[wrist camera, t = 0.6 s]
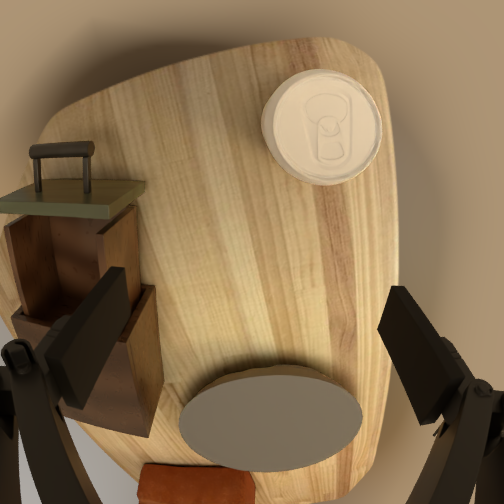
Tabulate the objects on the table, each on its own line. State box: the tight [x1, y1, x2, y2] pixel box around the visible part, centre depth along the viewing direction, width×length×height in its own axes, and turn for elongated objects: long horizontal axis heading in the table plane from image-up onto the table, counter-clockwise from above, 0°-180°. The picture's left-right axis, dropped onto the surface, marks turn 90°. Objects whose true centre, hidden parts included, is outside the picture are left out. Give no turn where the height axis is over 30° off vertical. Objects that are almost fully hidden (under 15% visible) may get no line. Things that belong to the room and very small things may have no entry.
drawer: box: [0, 141, 145, 336], centre depth 29 cm, size 20×14×9 cm
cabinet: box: [11, 284, 164, 438], centre depth 35 cm, size 17×15×11 cm
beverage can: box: [261, 69, 382, 185], centre depth 24 cm, size 8×8×12 cm
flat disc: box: [179, 364, 363, 472], centre depth 44 cm, size 28×28×4 cm
